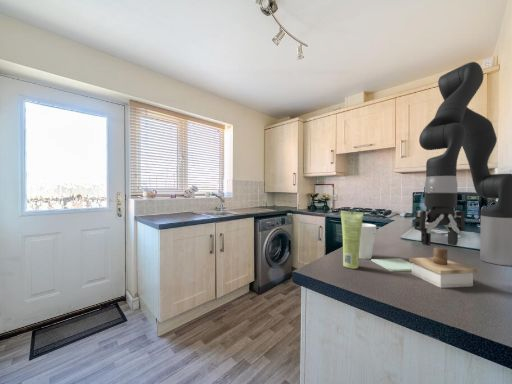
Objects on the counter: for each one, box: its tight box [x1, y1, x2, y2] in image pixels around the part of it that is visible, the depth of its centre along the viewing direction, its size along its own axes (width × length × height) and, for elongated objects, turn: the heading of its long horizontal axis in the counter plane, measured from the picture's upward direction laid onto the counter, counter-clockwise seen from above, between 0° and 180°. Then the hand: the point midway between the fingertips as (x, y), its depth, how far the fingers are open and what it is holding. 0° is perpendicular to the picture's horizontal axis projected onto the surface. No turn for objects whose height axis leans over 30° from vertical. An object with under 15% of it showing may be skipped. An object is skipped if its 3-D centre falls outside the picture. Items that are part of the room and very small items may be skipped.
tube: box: [340, 210, 364, 270], centre depth 77 cm, size 6×5×20 cm
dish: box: [411, 262, 474, 289], centre depth 66 cm, size 10×10×4 cm
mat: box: [370, 257, 412, 273], centre depth 79 cm, size 12×11×1 cm
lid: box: [408, 246, 478, 274], centre depth 66 cm, size 11×11×5 cm
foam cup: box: [359, 222, 377, 260], centre depth 89 cm, size 10×9×13 cm
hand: (439, 244), depth 66 cm, fingers open, 8 cm apart
